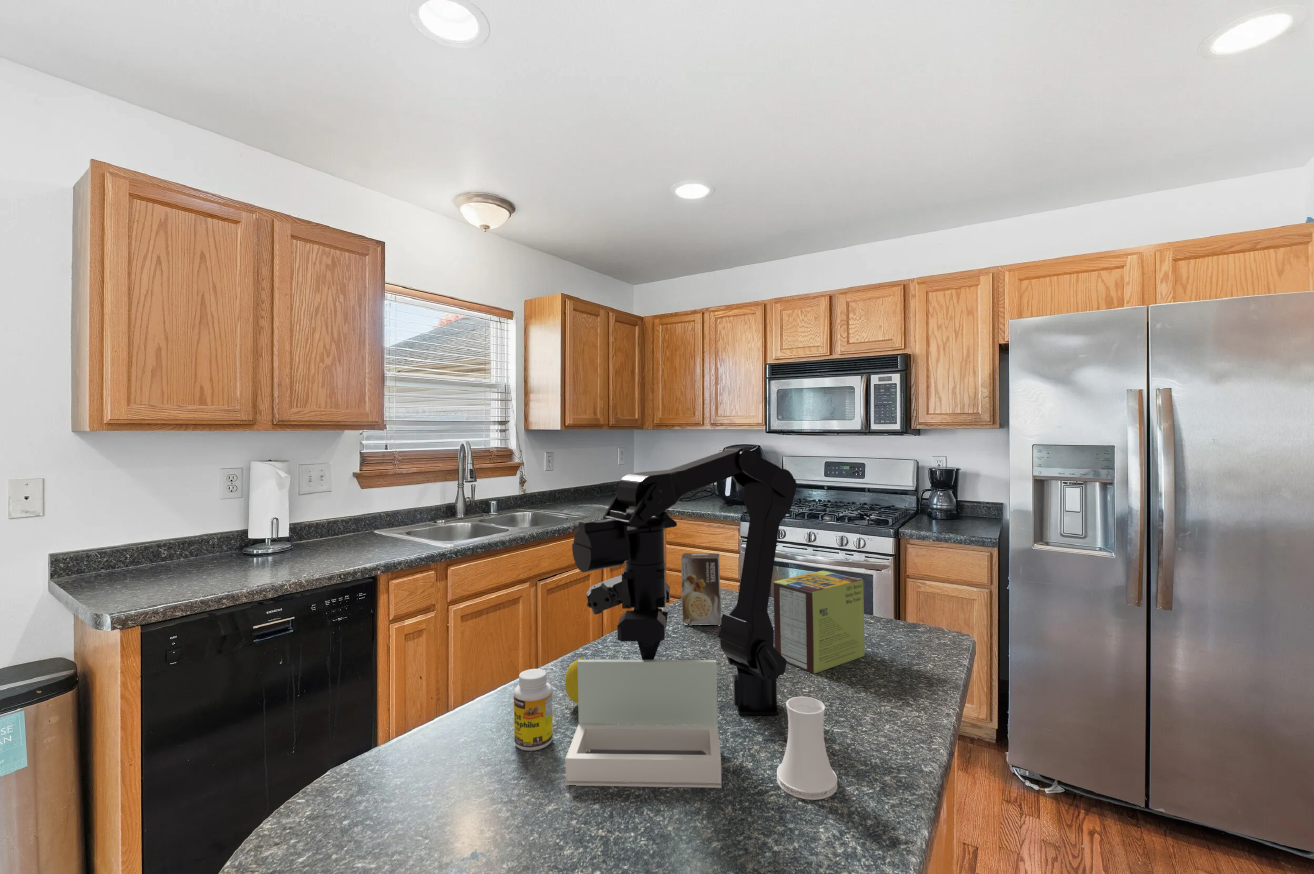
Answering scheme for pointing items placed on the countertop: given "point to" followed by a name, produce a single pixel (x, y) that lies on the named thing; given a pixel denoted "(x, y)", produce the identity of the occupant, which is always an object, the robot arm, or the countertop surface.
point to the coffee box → (701, 588)
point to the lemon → (572, 681)
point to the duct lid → (647, 692)
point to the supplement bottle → (533, 711)
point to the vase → (806, 752)
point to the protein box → (819, 620)
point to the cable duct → (644, 756)
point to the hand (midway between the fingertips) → (647, 666)
